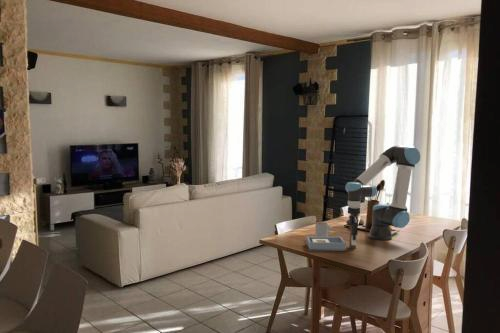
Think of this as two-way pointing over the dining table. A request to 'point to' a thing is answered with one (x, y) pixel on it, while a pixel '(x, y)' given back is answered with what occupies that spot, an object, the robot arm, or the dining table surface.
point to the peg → (351, 239)
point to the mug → (322, 229)
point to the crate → (326, 244)
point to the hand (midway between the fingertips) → (352, 243)
